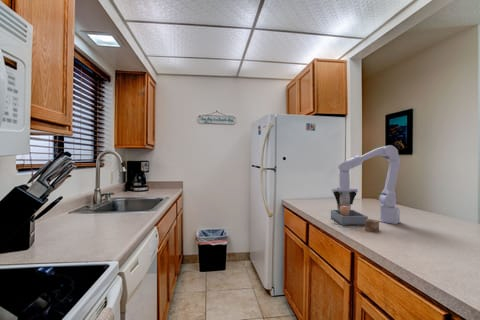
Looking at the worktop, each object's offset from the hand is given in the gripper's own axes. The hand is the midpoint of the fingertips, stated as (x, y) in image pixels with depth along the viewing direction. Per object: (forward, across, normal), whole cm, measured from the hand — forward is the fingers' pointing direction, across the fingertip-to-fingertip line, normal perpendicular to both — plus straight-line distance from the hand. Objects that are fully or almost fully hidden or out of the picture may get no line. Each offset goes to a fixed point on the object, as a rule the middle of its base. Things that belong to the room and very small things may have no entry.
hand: (344, 204), depth 147 cm
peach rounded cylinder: (+8, 0, 0) cm, 8 cm away
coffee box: (+10, -9, -24) cm, 28 cm away
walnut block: (+10, -6, +22) cm, 24 cm away
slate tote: (+9, 0, +4) cm, 10 cm away
